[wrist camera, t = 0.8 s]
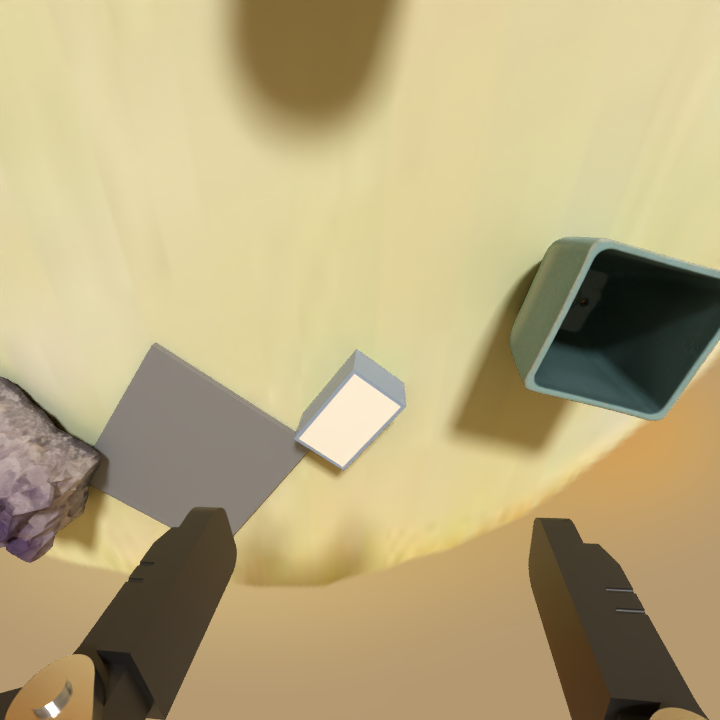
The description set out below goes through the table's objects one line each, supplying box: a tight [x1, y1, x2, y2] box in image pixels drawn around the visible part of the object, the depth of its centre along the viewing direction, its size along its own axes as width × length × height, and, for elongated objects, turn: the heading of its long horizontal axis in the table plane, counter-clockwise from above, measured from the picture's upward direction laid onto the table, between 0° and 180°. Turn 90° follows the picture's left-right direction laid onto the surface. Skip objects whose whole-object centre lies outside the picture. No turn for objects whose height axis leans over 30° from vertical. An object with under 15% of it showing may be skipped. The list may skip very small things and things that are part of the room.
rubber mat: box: [89, 343, 310, 535], centre depth 37 cm, size 16×18×1 cm
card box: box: [294, 349, 406, 471], centre depth 32 cm, size 5×8×4 cm, turn 143°
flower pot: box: [510, 237, 720, 421], centre depth 25 cm, size 9×9×9 cm
